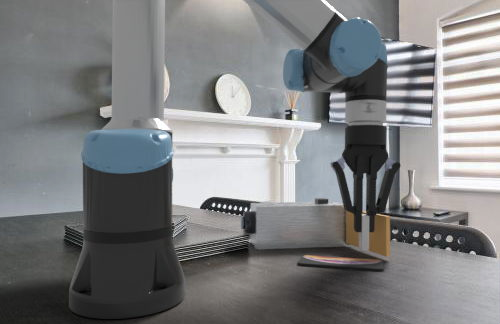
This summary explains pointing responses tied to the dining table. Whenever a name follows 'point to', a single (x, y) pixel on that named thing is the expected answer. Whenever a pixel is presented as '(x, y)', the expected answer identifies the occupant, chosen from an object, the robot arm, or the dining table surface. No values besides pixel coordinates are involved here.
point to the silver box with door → (296, 224)
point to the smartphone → (342, 263)
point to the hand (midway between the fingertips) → (363, 249)
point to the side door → (371, 234)
